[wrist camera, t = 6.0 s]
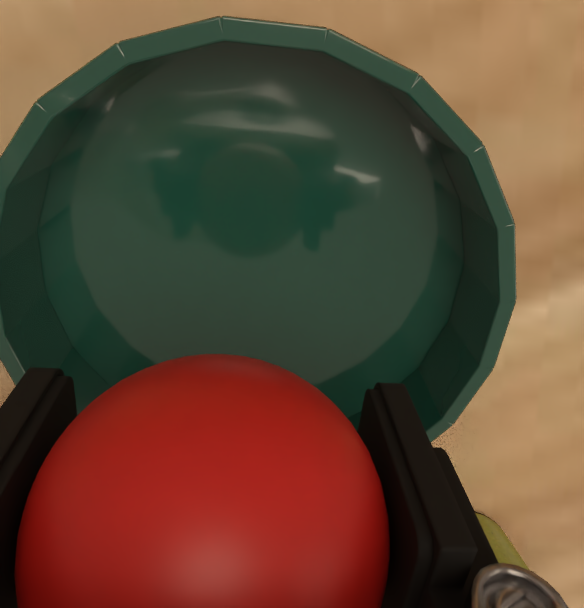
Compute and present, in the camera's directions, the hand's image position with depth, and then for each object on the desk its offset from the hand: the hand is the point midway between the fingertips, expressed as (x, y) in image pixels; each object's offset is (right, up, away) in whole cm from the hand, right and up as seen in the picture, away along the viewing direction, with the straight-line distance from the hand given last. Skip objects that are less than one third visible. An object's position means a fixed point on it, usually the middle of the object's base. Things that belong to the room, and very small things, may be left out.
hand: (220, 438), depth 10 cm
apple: (0, 0, +1) cm, 1 cm away
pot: (0, +4, +7) cm, 8 cm away
